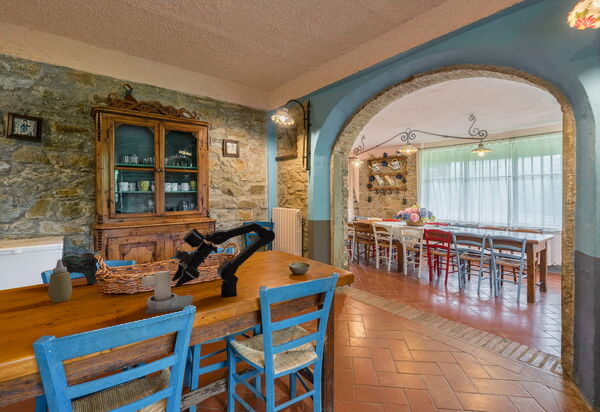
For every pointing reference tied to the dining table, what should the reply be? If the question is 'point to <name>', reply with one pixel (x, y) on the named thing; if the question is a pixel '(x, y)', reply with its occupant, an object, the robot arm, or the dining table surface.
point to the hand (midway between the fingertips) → (173, 283)
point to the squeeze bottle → (60, 284)
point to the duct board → (179, 305)
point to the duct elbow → (159, 285)
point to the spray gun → (82, 264)
